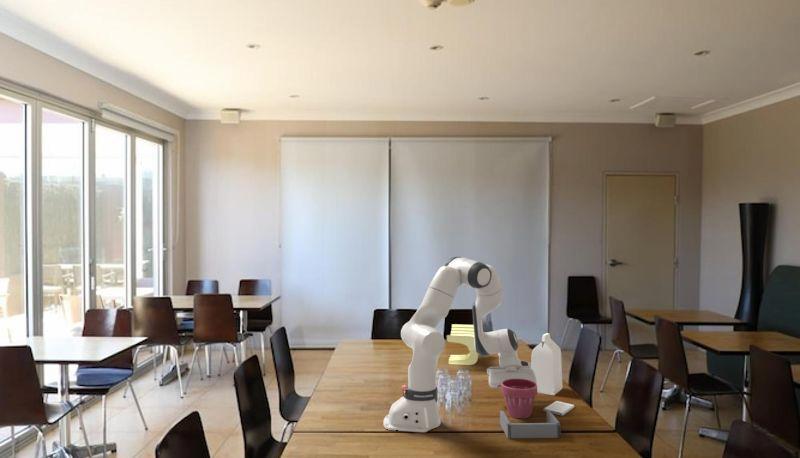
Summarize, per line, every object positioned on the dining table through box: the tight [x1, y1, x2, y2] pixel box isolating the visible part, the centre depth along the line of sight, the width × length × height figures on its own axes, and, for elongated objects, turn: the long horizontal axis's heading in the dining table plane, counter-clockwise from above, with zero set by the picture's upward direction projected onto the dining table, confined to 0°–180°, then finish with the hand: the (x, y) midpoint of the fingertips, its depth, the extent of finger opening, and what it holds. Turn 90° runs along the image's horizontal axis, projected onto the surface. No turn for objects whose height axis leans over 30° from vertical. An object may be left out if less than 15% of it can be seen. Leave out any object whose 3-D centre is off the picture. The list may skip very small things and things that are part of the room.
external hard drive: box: [542, 400, 575, 416], centre depth 220 cm, size 2×8×12 cm
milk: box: [530, 332, 563, 396], centre depth 245 cm, size 12×12×26 cm
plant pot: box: [501, 379, 538, 419], centre depth 214 cm, size 14×14×13 cm
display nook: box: [499, 410, 562, 439], centre depth 198 cm, size 19×14×5 cm
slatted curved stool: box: [446, 323, 479, 366], centre depth 295 cm, size 30×16×18 cm, turn 169°
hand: (514, 396), depth 221 cm, fingers closed
